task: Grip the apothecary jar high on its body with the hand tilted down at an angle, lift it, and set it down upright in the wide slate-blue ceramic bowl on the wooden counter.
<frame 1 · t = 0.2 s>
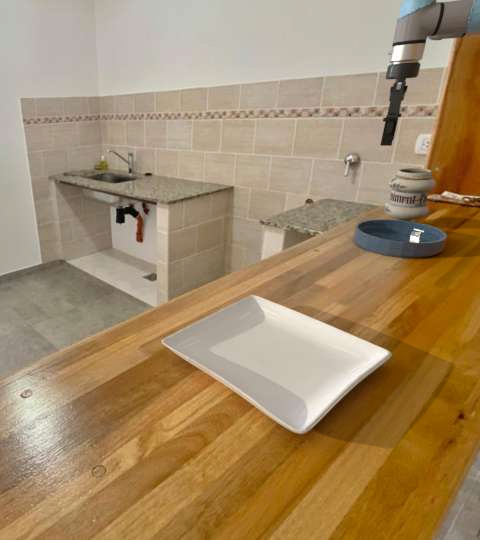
hand: (387, 142, 115), 27 cm above the table, tool pointing down, fingers open, 13 cm apart
square plate: (268, 362, 67), on the table
bowl: (395, 244, 111), on the table
apothecary jar: (400, 226, 125), on the table
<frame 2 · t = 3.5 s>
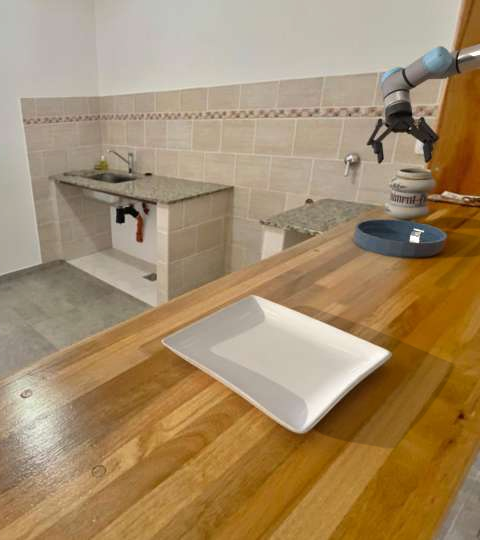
hand: (404, 160, 125), 19 cm above the table, tool tilted 45°, fingers open, 13 cm apart
nothing on the table moved.
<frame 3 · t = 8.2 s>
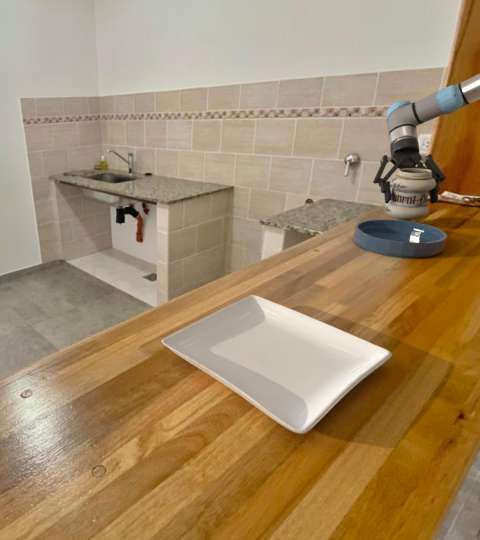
hand: (411, 201, 119), 9 cm above the table, tool tilted 45°, fingers closed on apothecary jar, 12 cm apart
apothecary jar: (400, 226, 125), on the table, touching gripper
everything else where it was.
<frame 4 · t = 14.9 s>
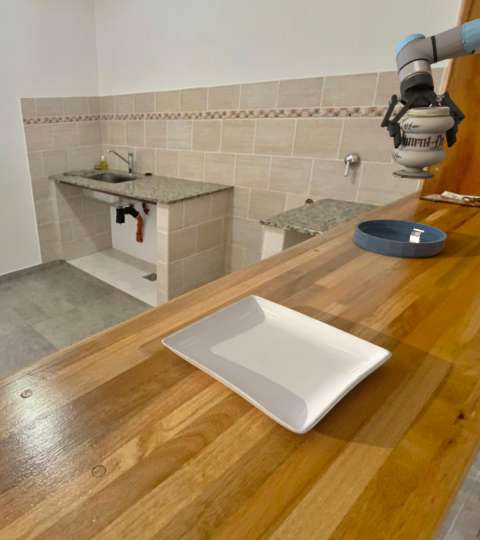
hand: (424, 144, 103), 27 cm above the table, tool tilted 45°, fingers closed on apothecary jar, 12 cm apart
apothecary jar: (412, 176, 109), point 18 cm above the table, touching gripper
everything else where it was.
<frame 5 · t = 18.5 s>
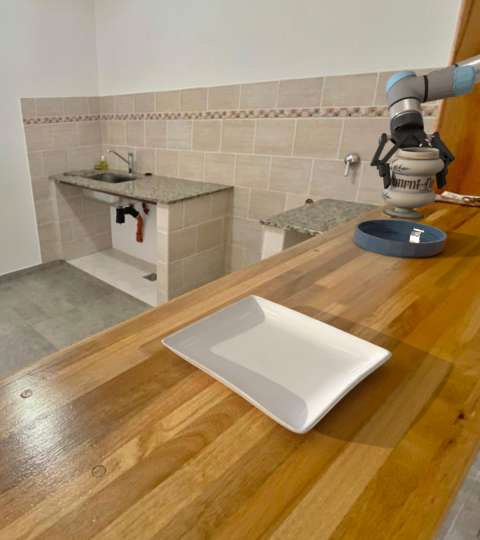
hand: (414, 186, 101), 18 cm above the table, tool tilted 45°, fingers closed on apothecary jar, 12 cm apart
apothecary jar: (402, 216, 107), point 9 cm above the table, touching gripper
everything else where it was.
when the fingers open (10 cm above the table, at t = 21.6 s): apothecary jar stays where it is, resting on bowl.
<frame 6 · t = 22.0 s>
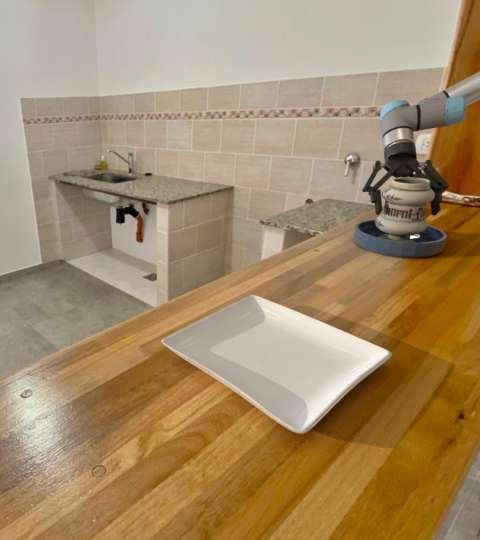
hand: (407, 212, 105), 10 cm above the table, tool tilted 45°, fingers open, 13 cm apart
apothecary jar: (395, 242, 111), point 1 cm above the table, touching bowl
everything else where it was.
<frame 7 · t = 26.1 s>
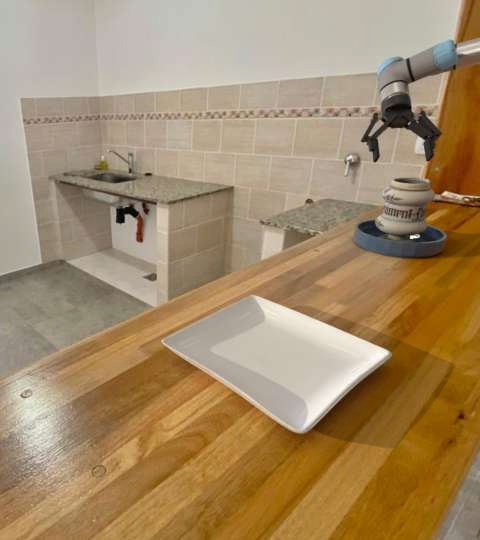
hand: (402, 159, 112), 22 cm above the table, tool tilted 45°, fingers open, 13 cm apart
nothing on the table moved.
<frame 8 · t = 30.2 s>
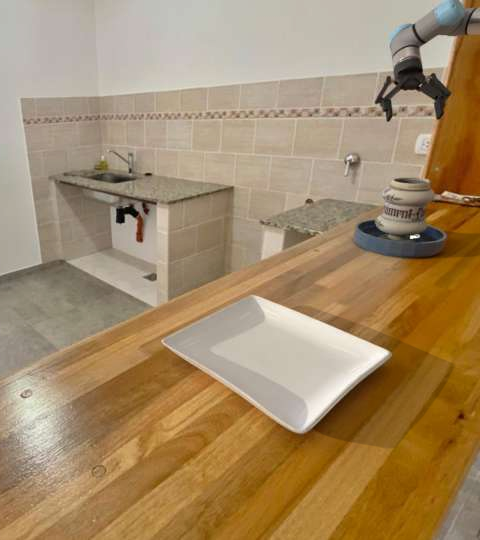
hand: (414, 117, 119), 33 cm above the table, tool tilted 45°, fingers open, 13 cm apart
nothing on the table moved.
at the end: apothecary jar inside the target area in the bowl (0.0 cm from its centre), point 0.6 cm above the bowl's base; apothecary jar tilted 0°; the gripper is holding nothing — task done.
